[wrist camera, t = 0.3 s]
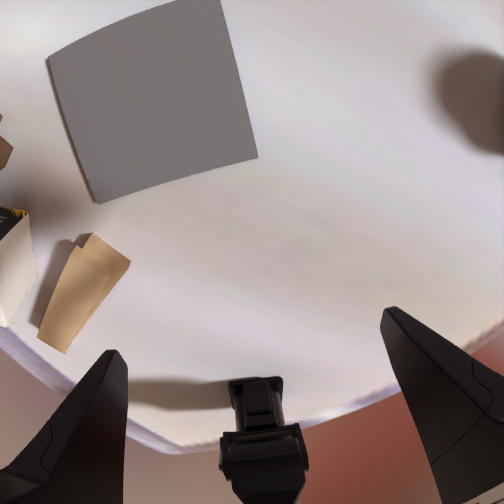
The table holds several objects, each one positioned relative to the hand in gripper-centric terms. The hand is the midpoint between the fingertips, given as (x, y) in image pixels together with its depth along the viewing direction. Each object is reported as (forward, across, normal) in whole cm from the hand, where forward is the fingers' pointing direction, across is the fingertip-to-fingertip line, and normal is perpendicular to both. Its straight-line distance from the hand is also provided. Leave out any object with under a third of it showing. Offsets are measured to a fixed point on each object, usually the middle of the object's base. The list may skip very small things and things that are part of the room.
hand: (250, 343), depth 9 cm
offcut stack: (+14, +16, +7) cm, 22 cm away
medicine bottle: (+14, +22, 0) cm, 26 cm away
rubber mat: (+14, +4, -8) cm, 17 cm away
